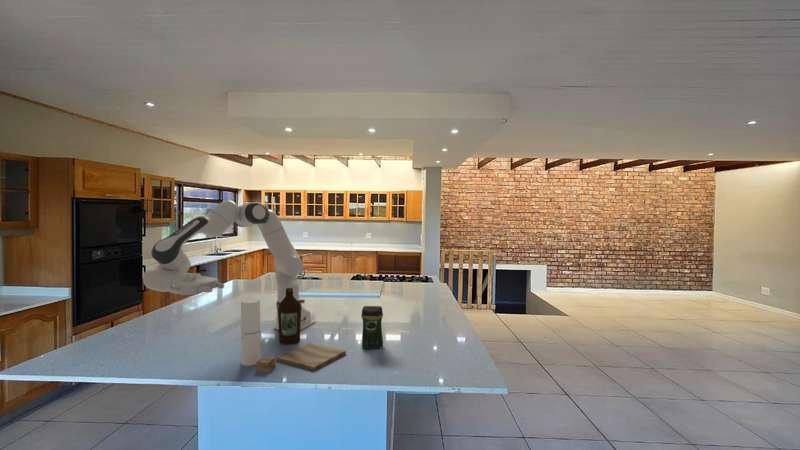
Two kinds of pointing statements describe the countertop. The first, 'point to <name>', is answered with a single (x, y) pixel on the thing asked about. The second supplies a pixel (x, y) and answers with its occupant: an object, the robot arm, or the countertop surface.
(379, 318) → the coffee jar
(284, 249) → the robot arm
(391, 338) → the countertop surface
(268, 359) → the walnut block
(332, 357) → the board
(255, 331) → the cylindrical container
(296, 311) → the olive oil
